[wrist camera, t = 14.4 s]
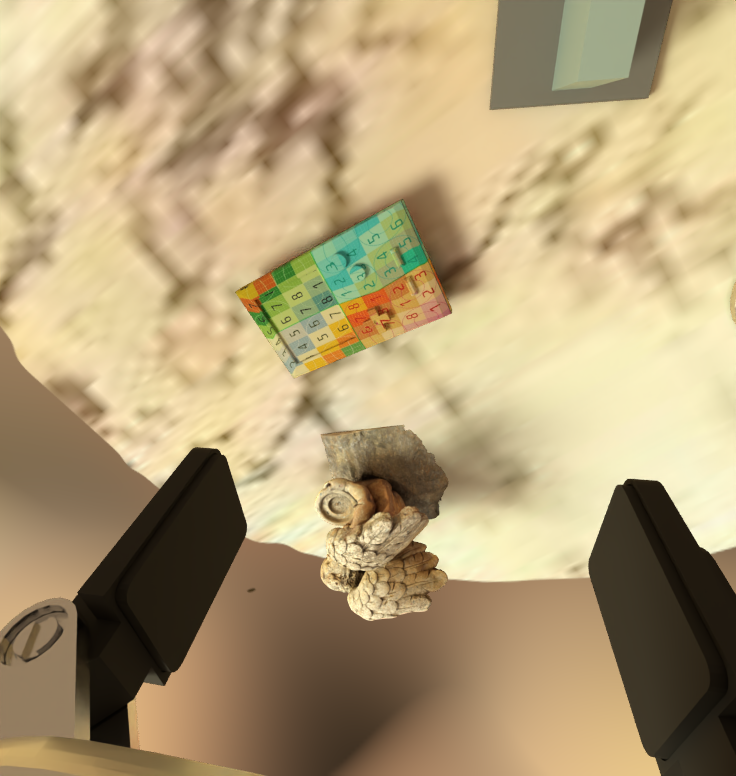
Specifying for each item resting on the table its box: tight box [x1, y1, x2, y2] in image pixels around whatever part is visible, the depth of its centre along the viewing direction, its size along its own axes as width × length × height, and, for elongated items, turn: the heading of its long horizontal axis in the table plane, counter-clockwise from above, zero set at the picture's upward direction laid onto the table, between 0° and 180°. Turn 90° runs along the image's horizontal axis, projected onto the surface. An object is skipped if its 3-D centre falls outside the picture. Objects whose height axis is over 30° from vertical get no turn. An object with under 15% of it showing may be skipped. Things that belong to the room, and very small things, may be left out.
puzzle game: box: [235, 199, 452, 378], centre depth 44 cm, size 12×5×20 cm
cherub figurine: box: [315, 425, 448, 621], centre depth 52 cm, size 18×18×18 cm
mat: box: [490, 0, 672, 110], centre depth 31 cm, size 12×12×1 cm
